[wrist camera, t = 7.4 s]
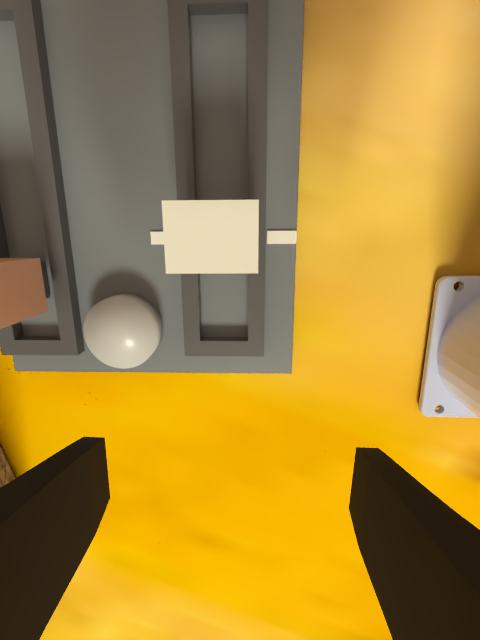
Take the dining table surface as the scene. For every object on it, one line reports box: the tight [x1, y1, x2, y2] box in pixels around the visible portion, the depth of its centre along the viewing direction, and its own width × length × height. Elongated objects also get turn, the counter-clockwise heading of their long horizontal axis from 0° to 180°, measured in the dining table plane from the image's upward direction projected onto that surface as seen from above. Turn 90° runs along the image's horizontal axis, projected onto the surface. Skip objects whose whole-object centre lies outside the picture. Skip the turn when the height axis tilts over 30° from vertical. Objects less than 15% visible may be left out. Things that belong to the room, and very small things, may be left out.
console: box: [0, 0, 305, 373], centre depth 16 cm, size 15×18×3 cm
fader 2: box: [162, 200, 259, 274], centre depth 14 cm, size 3×2×5 cm
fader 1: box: [0, 258, 50, 329], centre depth 14 cm, size 3×2×5 cm
